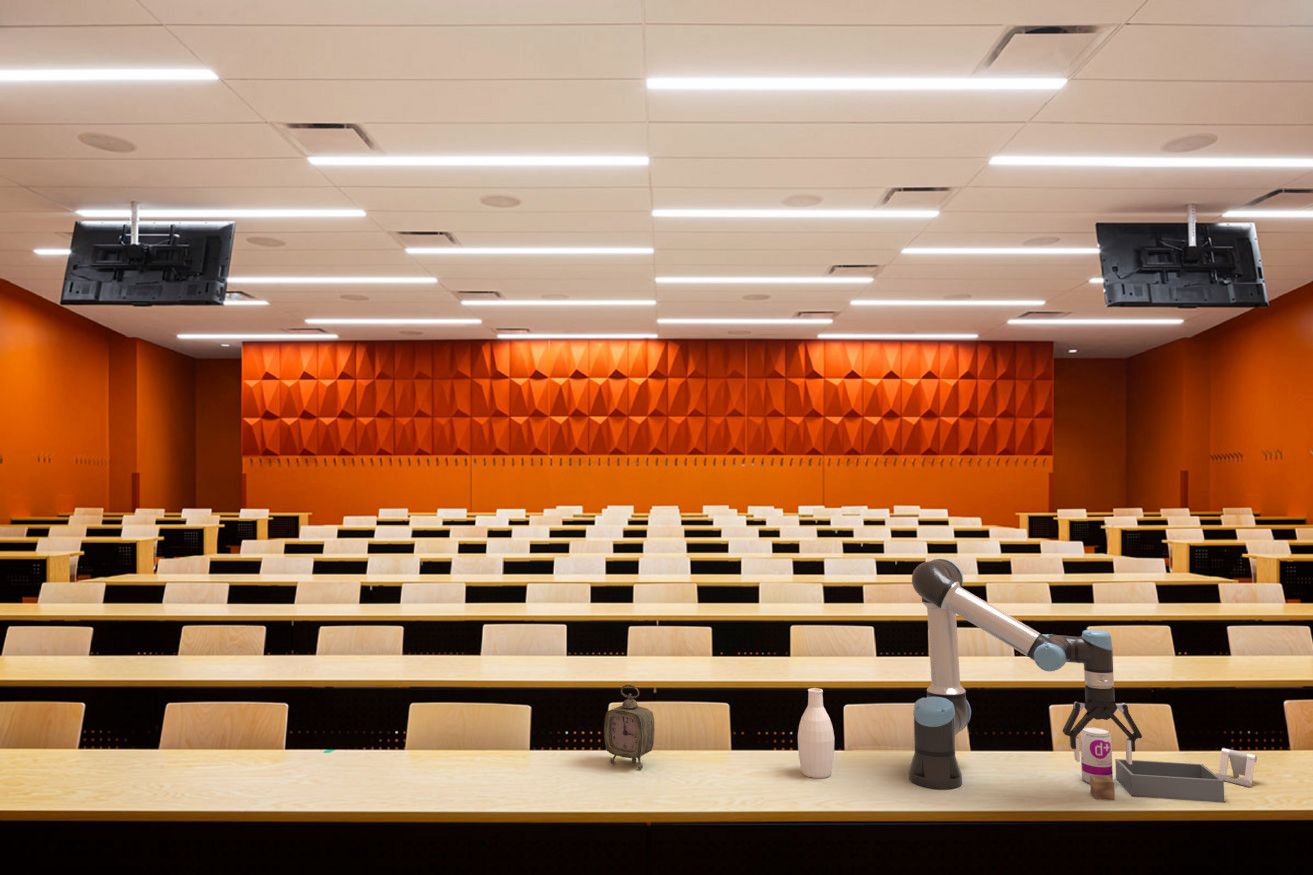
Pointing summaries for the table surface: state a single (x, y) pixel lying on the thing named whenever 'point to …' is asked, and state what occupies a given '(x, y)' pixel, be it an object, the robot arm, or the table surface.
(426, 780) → the table surface
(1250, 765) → the portable electronic device stand
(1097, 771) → the supplement can
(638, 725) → the tabletop clock
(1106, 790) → the walnut cube
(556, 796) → the table surface
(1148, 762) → the tote
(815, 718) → the bottle
